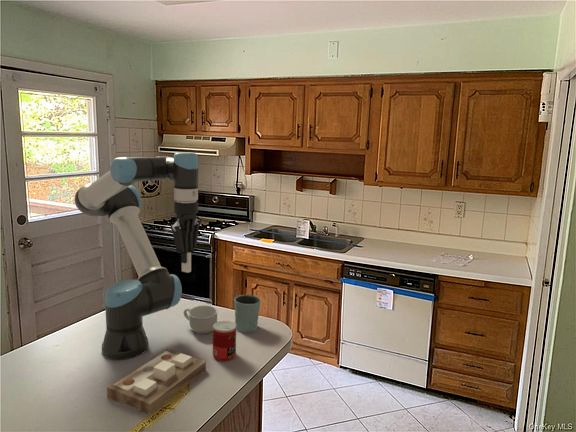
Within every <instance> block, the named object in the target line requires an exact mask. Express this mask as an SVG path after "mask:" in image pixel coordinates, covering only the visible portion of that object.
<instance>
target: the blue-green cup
mask: <svg viewBox="0 0 576 432" xmlns="http://www.w3.org/2000/svg"><path fill="white" fill-rule="evenodd" d="M233 300H234V301H233V303H234V317H235V318H234V323H235V324H236V332H239V333H244V334H247V333H254V332H255V331H256V330H257V329H258V323H259V322H258V321H259V315H260V314H259V313H260V307H261V297H259V296H257V295H254V294H240V295H237V296H235V297H234V299H233Z"/></svg>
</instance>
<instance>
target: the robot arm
mask: <svg viewBox="0 0 576 432" xmlns="http://www.w3.org/2000/svg"><path fill="white" fill-rule="evenodd" d="M148 181H152V182H153V181H173V200H174V203H173V211H174V213H175V215H176V218H175V223H174V224H171V225H170V227H169V228H170V229H171V232H172V235H173V241H174V246H175V248H174V249H175V252H176V253H179V254H180V262H181V272H182V273H187V274H189V273H191V272H192V259H193V258H192V257H193V256H192V254H193V253H195V250H196V248H197V243H198V238H199V229H200V225H201V224H202V220H201V219H198V218H197V215H196V214H198V213H199V202H198V200H199V158H198V154H197V153H196V152H186V151H185V152H184V151H182V152H181V151H179V152H178V151H177V152H174V154H173V157H172V156H168V155H158V156H148V157H147V156H138V157H137V156H136V157H135V156H131V157H129V156H123V157H116V158H114V159H112V160H111V163H110V167H109V170H108V171H107V172H105V173H104V174H103V175H102V176H100V177H99V178H98V179H96V180H94V181H93V182H92V183H86V184H84V185H83V186H81V187H80V188H79V189H78V190H77V191H76V192H75V194H74V204H75V206H76V208H77V210H78V211H80V212H81V213H82V214H84V215H85V216H89V217H97V218H98V217H105V216H107V217H108V219H109V221H110V222H111V224H115V225H116V227H117V230H118V232H119V234H120V236H121V239H122V242H123V243H124V246H125V249H126V251H127V252H128V255H129V257H130V260H131V262H132V264H133V266H134V269H135V271H136V274H137V276H138V278H137V279H134V278H133V279H122V280H119V281H117V282H114V283H112V284H111V285H109V286H108V288H107V289H106V291H105V294H104V295H105V297H104V305H105V306H104V307H105V327H106V330H105V334H104V337H103V341H102V342H101V353H102V356H104V357H105V358H106V359H111V360H119V361H120V360H127V359H132V358H136V357H139V356H140V355H142V354H144V353H145V352H146V351H147V350H148V348H149V338H148V336H147V334H146V330H145V328H144V326H143V317H145V316H148V315H151V314H155V313H158V312H161V311H164V310H170V308H173V307H175V306H177V305H178V304H179V303H180V301H181V298H182V292H183V289H182V283H181V280H180V278H179V277H178V276H177V275H176V274H173V273H171V274H170V273H169V271H168V269H167V268H166V267H164V266H161V263H160V261H159V259H158V257H157V255H156V252H155V250H154V248H153V245H152V244H151V242H150V239H149V237H148V235H147V231H145V228H144V226H143V224H142V222H141V219H140V218H139V214H140V212H141V211H140V210H141V207H142V200H141V199H142V198H141V194H140V192H139V191H138V189H137V188H136V187H135V186H134V184H135V183H138V182H148Z"/></svg>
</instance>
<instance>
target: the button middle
mask: <svg viewBox="0 0 576 432" xmlns="http://www.w3.org/2000/svg"><path fill="white" fill-rule="evenodd" d="M153 368H154V378H156V379H159V380H162V381H165V382H166V381H167V380H169V379H170V378H171V377H173V376H174V375H175V364H173V363H170V362H167V361H164V360H163V361H162V362H160V363H159V364H157V365H156V366H154V367H153Z"/></svg>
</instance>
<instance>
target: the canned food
mask: <svg viewBox="0 0 576 432" xmlns="http://www.w3.org/2000/svg"><path fill="white" fill-rule="evenodd" d="M236 348H237V330H236V324H235V322H232V321H230V320H221V321H217V322H216V323H215V324H214V325H213V330H212V356H213V358H214V359H216V360H218V361H221V362H222V361H223V362H227V361H230V360H232V359H234V358H235V356H236V353H237V350H236Z"/></svg>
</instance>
